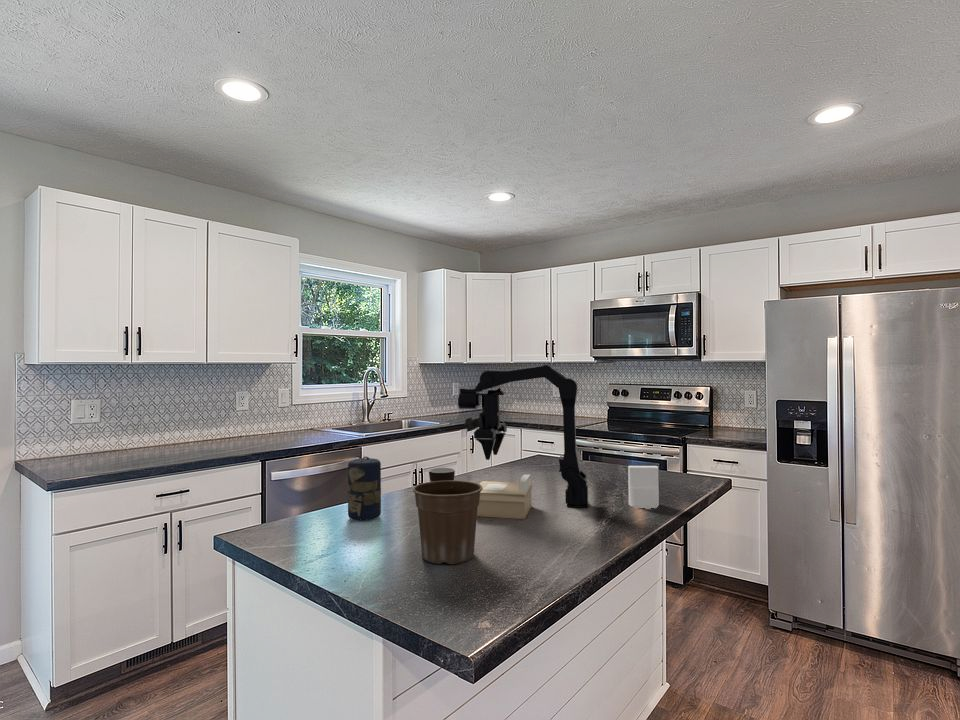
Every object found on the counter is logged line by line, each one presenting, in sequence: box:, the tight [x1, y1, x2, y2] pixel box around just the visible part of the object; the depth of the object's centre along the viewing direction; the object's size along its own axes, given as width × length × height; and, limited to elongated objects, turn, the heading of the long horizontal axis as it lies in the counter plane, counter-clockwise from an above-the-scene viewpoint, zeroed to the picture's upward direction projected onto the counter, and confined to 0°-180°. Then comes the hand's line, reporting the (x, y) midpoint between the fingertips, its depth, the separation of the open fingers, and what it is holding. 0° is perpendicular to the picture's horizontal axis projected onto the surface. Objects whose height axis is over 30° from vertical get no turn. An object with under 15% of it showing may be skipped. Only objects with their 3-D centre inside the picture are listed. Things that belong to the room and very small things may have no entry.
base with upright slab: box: [627, 465, 660, 510], centre depth 170 cm, size 9×9×12 cm
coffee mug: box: [428, 467, 456, 482], centre depth 180 cm, size 12×9×10 cm
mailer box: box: [477, 488, 533, 520], centre depth 165 cm, size 16×14×6 cm
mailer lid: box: [479, 474, 533, 502], centre depth 165 cm, size 16×16×5 cm
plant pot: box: [412, 479, 482, 565], centre depth 127 cm, size 16×16×16 cm
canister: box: [347, 456, 382, 522], centre depth 159 cm, size 10×10×18 cm
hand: (491, 457), depth 177 cm, fingers open, 9 cm apart
